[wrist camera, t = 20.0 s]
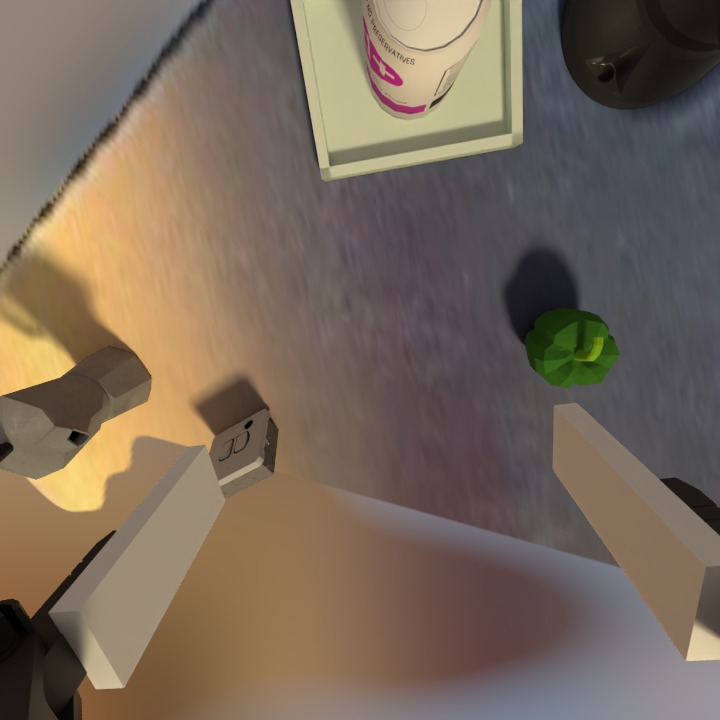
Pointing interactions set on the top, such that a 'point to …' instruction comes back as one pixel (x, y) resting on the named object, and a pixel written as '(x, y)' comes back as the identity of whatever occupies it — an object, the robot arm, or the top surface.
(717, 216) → the top surface
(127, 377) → the coffeepot
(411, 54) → the supplement can
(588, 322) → the bell pepper
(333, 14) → the tray
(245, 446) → the electrical switch
